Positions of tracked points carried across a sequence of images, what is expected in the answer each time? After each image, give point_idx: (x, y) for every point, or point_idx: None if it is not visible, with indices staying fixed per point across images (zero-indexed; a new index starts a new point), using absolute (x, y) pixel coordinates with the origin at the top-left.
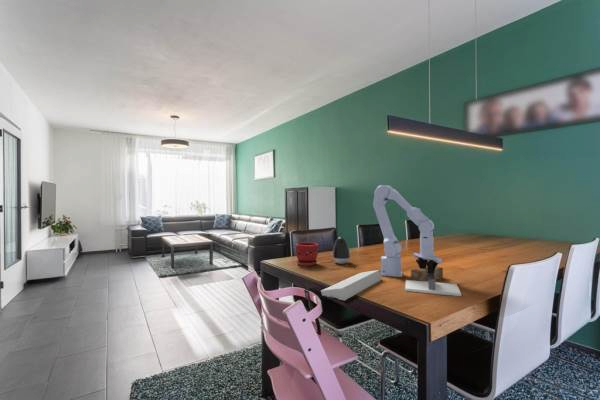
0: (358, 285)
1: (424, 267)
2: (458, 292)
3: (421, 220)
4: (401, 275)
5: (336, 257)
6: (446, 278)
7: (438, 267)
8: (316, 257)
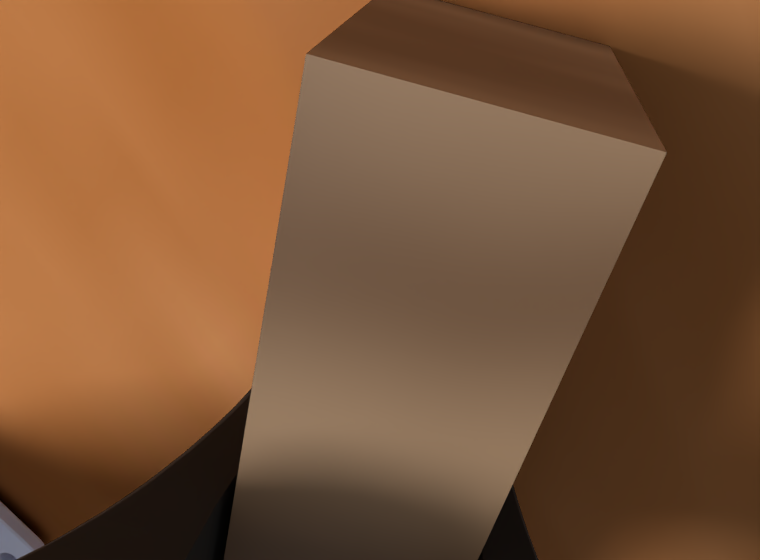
0: None
1: (211, 556)
2: None
3: None
4: (6, 531)
5: None
6: (716, 14)
7: (504, 257)
8: None
